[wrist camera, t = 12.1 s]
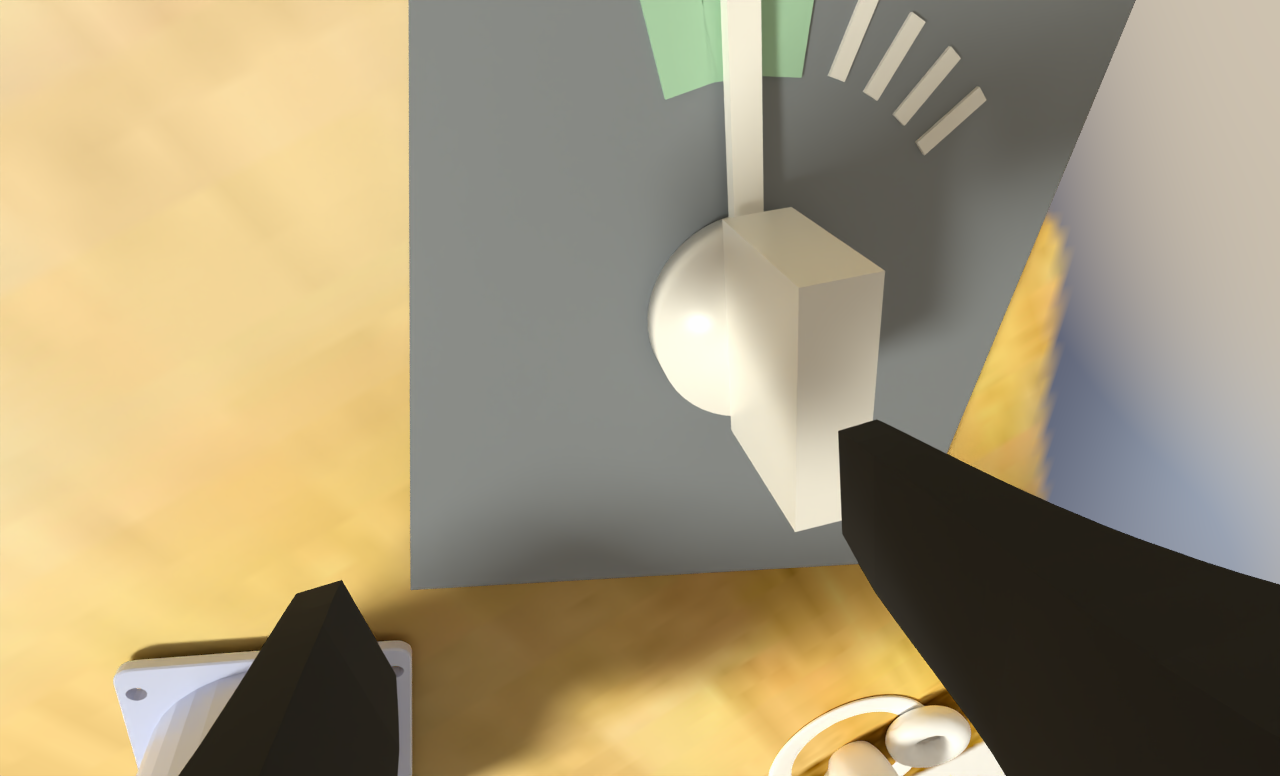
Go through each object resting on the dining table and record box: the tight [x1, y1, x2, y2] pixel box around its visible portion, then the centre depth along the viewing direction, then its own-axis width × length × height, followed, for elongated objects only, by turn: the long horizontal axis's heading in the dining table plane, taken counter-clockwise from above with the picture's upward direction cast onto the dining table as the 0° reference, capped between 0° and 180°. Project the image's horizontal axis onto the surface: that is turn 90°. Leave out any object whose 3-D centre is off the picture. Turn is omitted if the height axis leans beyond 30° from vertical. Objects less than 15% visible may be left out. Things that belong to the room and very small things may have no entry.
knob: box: [647, 0, 885, 532], centre depth 15 cm, size 11×5×5 cm, turn 6°
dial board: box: [409, 0, 1136, 590], centre depth 19 cm, size 18×16×1 cm
